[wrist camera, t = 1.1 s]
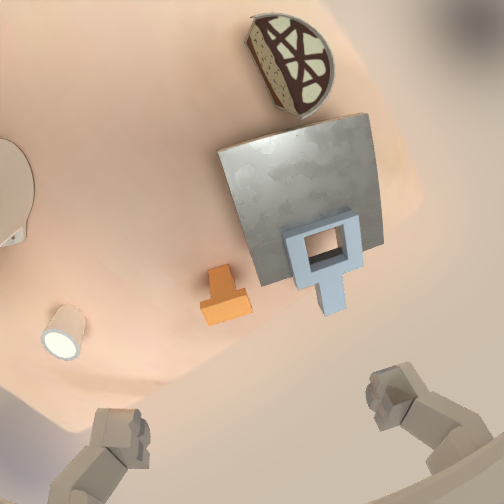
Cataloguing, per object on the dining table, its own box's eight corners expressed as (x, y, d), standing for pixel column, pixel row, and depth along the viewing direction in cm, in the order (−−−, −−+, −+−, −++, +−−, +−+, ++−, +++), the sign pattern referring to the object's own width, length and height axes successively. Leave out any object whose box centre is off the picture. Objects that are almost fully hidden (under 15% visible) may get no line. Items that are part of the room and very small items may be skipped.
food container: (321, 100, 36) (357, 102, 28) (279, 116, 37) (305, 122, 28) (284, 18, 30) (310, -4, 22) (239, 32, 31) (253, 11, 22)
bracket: (299, 311, 41) (306, 326, 38) (278, 227, 34) (285, 238, 32) (356, 290, 41) (366, 303, 38) (346, 205, 35) (358, 214, 32)
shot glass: (75, 296, 43) (62, 324, 37) (96, 327, 47) (88, 356, 41) (46, 307, 43) (32, 334, 37) (68, 336, 47) (57, 364, 41)
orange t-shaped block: (205, 289, 47) (208, 326, 39) (198, 273, 45) (200, 309, 38) (243, 277, 47) (253, 312, 39) (237, 260, 45) (246, 294, 38)
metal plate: (247, 247, 45) (261, 286, 36) (213, 139, 37) (218, 152, 28) (349, 214, 45) (383, 243, 36) (330, 108, 37) (368, 113, 28)
